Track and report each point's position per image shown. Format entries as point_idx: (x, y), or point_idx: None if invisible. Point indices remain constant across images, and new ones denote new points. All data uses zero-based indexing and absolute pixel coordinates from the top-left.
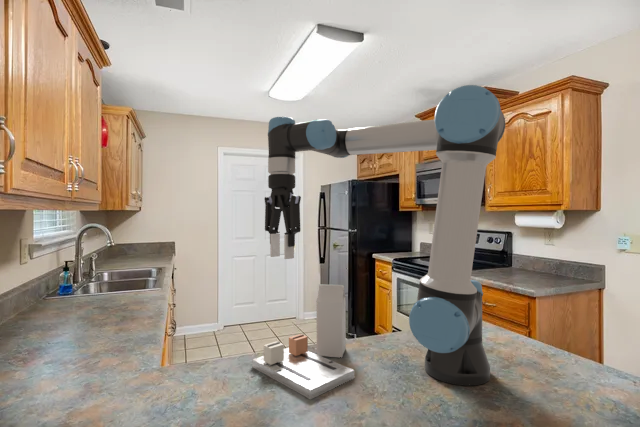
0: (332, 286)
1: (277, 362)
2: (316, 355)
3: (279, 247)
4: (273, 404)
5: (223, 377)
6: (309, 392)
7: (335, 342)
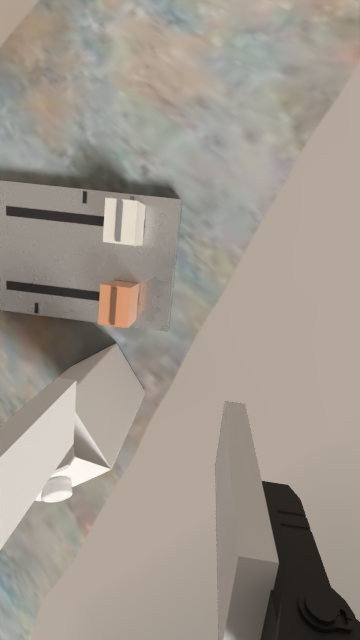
0: None
1: None
2: (85, 317)
3: (217, 513)
4: (20, 117)
5: (191, 118)
6: None
7: (66, 373)
